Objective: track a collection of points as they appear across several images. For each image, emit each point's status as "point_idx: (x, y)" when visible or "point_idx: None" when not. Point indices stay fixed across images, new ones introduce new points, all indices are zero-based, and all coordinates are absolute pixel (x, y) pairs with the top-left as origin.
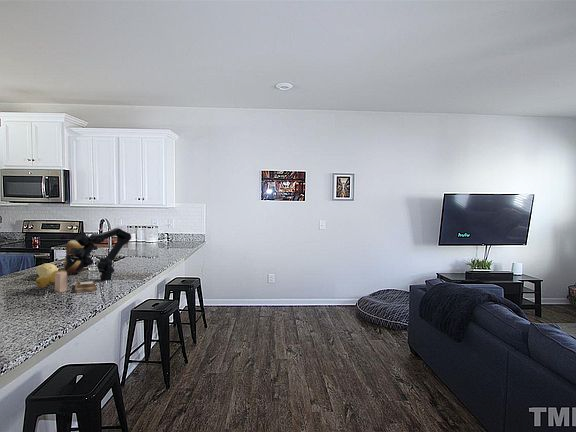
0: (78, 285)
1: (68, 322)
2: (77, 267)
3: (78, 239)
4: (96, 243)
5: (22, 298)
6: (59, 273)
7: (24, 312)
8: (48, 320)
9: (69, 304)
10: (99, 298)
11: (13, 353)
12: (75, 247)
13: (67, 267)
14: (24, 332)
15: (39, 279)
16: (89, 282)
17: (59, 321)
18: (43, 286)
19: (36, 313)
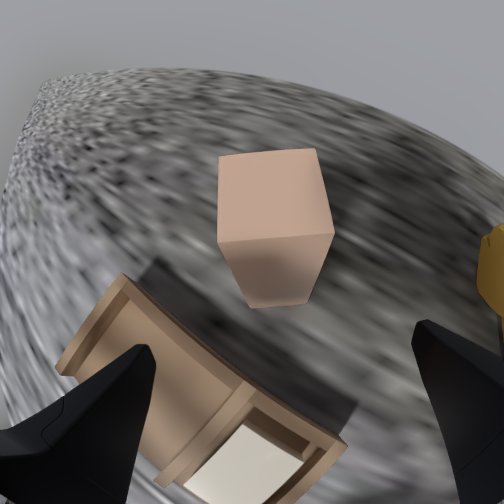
0: (230, 398)
1: (24, 138)
2: (108, 378)
3: None
4: None
5: (318, 124)
6: (250, 163)
7: (140, 91)
8: (57, 116)
9: (68, 185)
10: (22, 297)
11: (48, 83)
12: None
13: (436, 368)
14: (66, 88)
15: (500, 234)
16: (229, 493)
17: (38, 129)
18: (481, 285)
19: (105, 106)
